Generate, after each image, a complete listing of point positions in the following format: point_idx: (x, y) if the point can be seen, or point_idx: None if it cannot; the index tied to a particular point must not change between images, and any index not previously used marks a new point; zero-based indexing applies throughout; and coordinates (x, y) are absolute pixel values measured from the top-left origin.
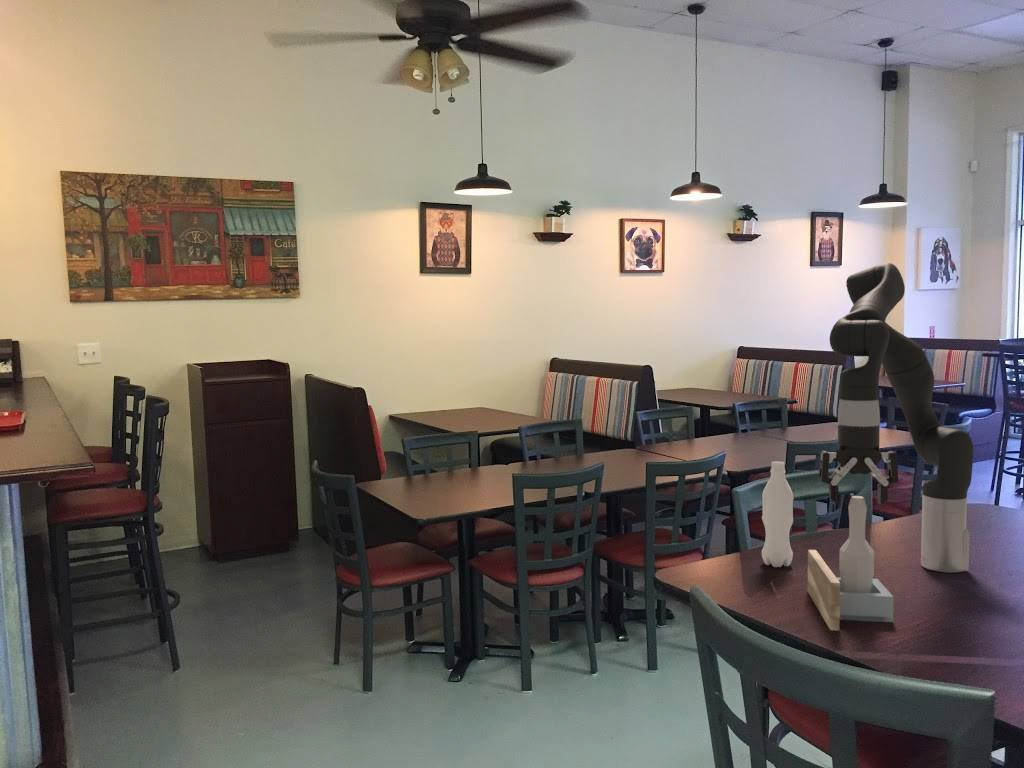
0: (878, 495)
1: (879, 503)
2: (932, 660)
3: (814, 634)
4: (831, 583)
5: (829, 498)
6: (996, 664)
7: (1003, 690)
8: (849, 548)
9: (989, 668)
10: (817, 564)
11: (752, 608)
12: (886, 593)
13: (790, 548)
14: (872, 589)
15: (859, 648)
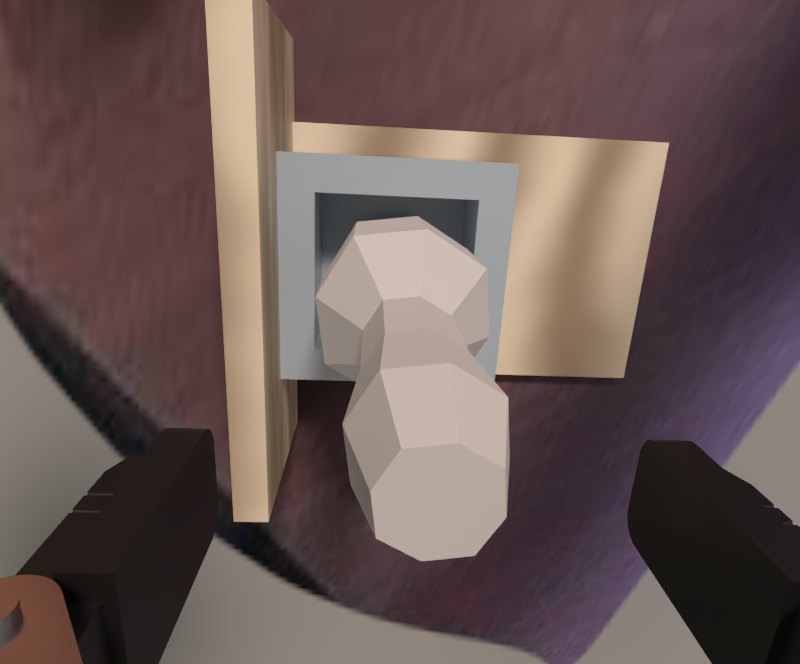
0: (683, 520)
1: (634, 503)
2: (483, 547)
3: (227, 422)
4: (236, 518)
5: (117, 468)
6: (619, 553)
7: (559, 660)
8: (350, 371)
9: (591, 573)
10: (221, 261)
11: (39, 211)
12: (482, 352)
13: None
14: (471, 224)
15: (329, 500)
